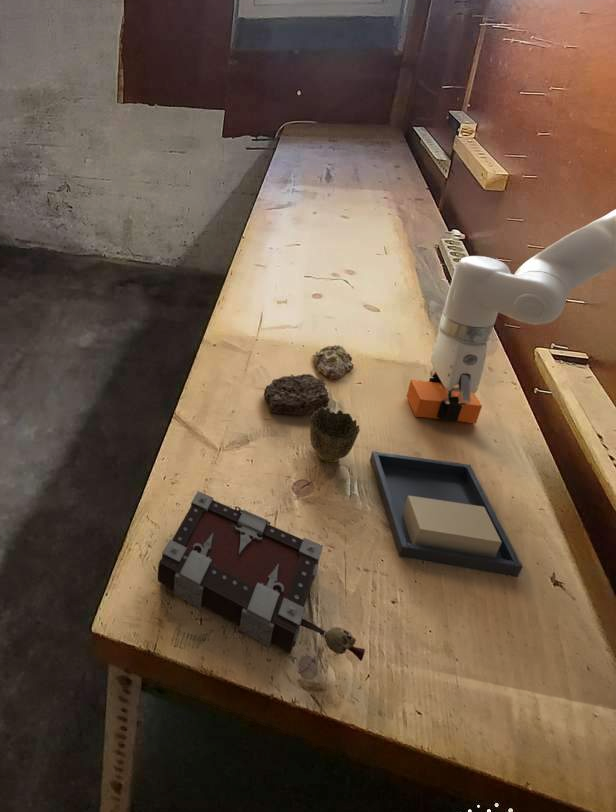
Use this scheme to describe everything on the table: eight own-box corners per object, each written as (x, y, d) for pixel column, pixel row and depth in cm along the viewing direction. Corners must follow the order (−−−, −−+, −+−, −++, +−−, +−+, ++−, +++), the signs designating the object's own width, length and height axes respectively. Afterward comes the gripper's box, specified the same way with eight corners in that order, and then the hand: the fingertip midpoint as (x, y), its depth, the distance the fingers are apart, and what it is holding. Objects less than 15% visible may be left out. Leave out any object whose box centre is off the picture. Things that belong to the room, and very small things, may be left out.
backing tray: (465, 476, 92) (470, 464, 91) (516, 579, 76) (522, 567, 75) (368, 462, 95) (372, 451, 94) (398, 559, 79) (402, 546, 78)
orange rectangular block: (464, 402, 107) (469, 385, 105) (476, 423, 102) (482, 405, 100) (406, 396, 110) (410, 379, 108) (415, 416, 104) (420, 399, 103)
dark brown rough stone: (323, 392, 112) (328, 371, 110) (327, 425, 103) (332, 403, 101) (263, 382, 115) (266, 362, 113) (262, 414, 107) (266, 393, 104)
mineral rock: (314, 339, 125) (354, 339, 120) (317, 356, 126) (356, 356, 122) (307, 366, 116) (349, 368, 112) (310, 384, 118) (352, 386, 113)
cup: (351, 449, 98) (360, 413, 94) (350, 479, 92) (359, 442, 88) (305, 438, 101) (312, 402, 97) (302, 466, 95) (309, 430, 91)
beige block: (476, 525, 83) (484, 506, 81) (493, 561, 77) (501, 542, 76) (401, 514, 85) (408, 495, 83) (413, 548, 80) (420, 529, 78)
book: (196, 511, 87) (198, 487, 85) (373, 592, 75) (381, 567, 72) (154, 587, 76) (156, 562, 74) (353, 696, 64) (362, 671, 62)
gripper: (512, 355, 89) (481, 442, 97) (471, 303, 104) (447, 382, 112) (459, 351, 91) (433, 436, 99) (426, 300, 106) (405, 378, 114)
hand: (440, 406), depth 105 cm, fingers closed on orange rectangular block, 6 cm apart
